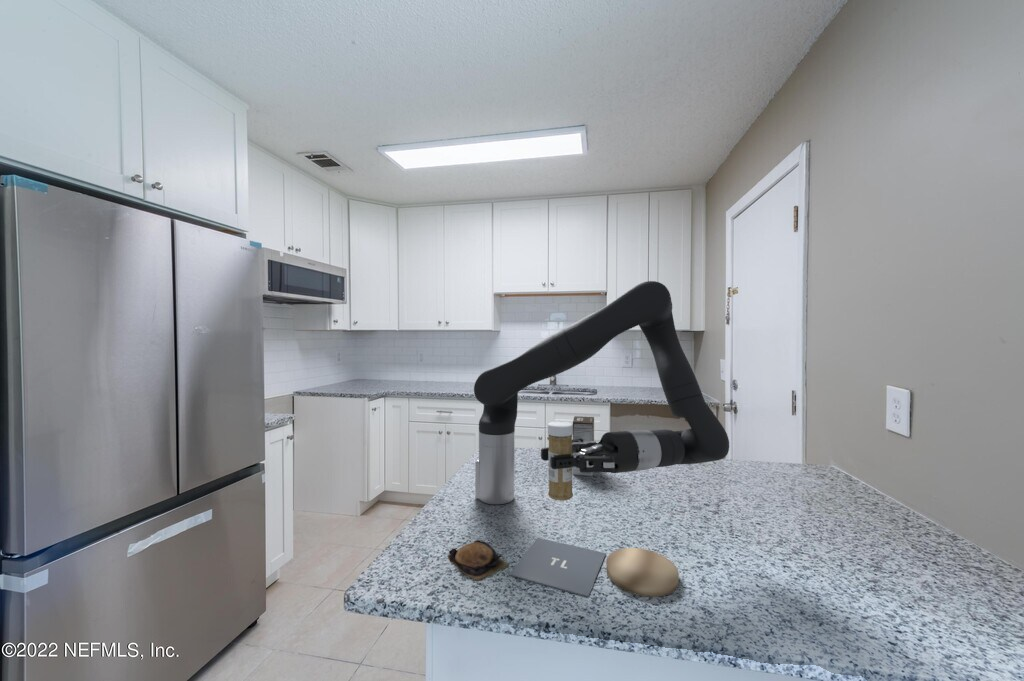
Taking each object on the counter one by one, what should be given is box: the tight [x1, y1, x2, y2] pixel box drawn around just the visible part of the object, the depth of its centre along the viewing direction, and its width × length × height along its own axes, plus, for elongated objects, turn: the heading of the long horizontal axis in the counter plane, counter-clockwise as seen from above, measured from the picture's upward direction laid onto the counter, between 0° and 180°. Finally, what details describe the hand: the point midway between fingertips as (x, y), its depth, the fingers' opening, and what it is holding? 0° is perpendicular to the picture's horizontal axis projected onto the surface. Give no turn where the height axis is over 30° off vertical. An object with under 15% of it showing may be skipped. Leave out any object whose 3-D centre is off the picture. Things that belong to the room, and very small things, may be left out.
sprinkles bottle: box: [547, 420, 574, 502], centre depth 74 cm, size 5×5×13 cm
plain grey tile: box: [508, 537, 607, 598], centre depth 74 cm, size 14×14×1 cm
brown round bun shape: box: [446, 539, 509, 582], centre depth 75 cm, size 11×8×4 cm
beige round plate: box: [605, 547, 680, 598], centre depth 71 cm, size 12×12×2 cm
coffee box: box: [572, 415, 595, 477], centre depth 125 cm, size 9×6×16 cm
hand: (546, 458), depth 73 cm, fingers closed on sprinkles bottle, 4 cm apart
